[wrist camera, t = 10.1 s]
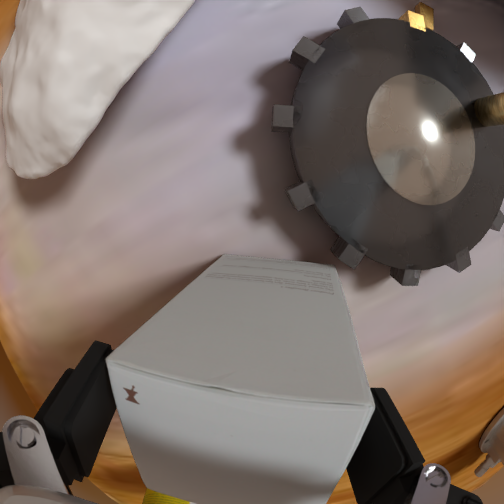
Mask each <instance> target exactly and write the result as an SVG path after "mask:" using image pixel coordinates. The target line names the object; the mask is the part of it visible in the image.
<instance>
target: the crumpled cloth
mask: <svg viewBox="0 0 504 504" xmlns="http://www.w3.org/2000/svg"><path fill="white" fill-rule="evenodd" d="M194 2H195V0H20V3H19V6H18V10H17V14H16V18H15V26H16V28H15V31H14V33H13V35H12V38H11V41H10V44H9V46H8V48H7V50H6V52H5V54H4V56H3V58H2V60H1V64H0V82H1V85H2V87H3V90H2V116H3V123H4V128H5V138H6V162H7V164H8V166H9V167H10V168H11V169H13V170H14V171H15V173H16V175H17V176H19V177H22V178H25V179H37V178H39V177H45V176H48V175H49V174H51V173H52V172H54V171H56V170H57V169H59V168H61V167H63V166H65V165H67V164H68V163H69V162H70V161H71V160H72V159H73V158H74V157H75V155H76V154H77V152H78V151H79V150H80V148H81V147H82V145H83V144H84V142H85V141H86V140H87V138H88V137H89V136H90V135H91V133H92V132H93V131H94V130H95V128H96V127H97V125H98V124H99V122H100V121H101V119H102V117H103V115H104V113H105V111H106V109H107V108H108V106H109V105H110V104H111V103H112V101H113V100H114V98H115V97H116V95H117V94H118V92H119V91H120V89H121V88H122V87H123V86H124V85H125V84H126V83H127V81H128V80H129V79H130V78H131V77H132V75H133V74H134V73H135V72H136V71H137V69H138V68H139V67H140V66H141V65H142V64H143V63H144V62H145V61H146V60H147V59H148V58H149V57H150V56H151V55H152V54H153V53H154V52H155V50H156V49H157V47H158V46H159V45H160V43H161V42H162V41H163V40H164V38H165V37H166V36H167V35H168V34H169V33H170V32H171V31H172V30H173V29H174V27H175V26H176V25H177V23H178V22H179V21H180V20H181V18H182V17H183V16H184V15H185V13H186V12H187V11H188V10H189V8H190V7H191V6H192V4H193V3H194Z"/></svg>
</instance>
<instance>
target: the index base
mask: <svg viewBox="0 0 504 504" xmlns="http://www.w3.org/2000/svg"><path fill="white" fill-rule="evenodd" d="M415 13H417V14H420V15H422V16H423V17H424V23H425V28H427V29H430V30H432V31H433V8H431V7H429V6H427V5H425V4H424V3H422V2H419V3H418V4H417V5H416V6H415Z"/></svg>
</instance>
